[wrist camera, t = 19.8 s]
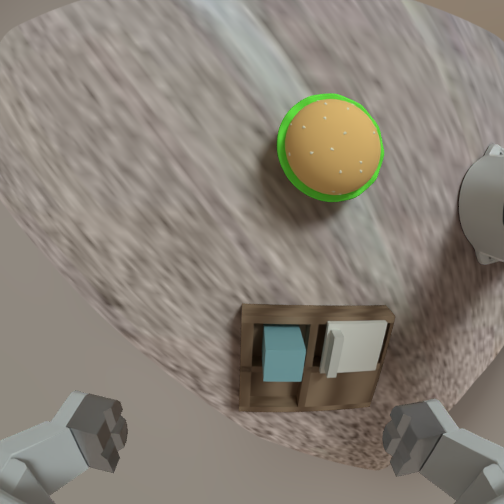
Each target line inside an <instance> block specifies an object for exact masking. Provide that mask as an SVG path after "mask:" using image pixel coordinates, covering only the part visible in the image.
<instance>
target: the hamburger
mask: <svg viewBox="0 0 504 504" xmlns="http://www.w3.org/2000/svg"><path fill="white" fill-rule="evenodd" d="M277 154H278V158H279V162H280V164H281V167H282V169H283V171H284V173H285V175H286V176H287V178H288V179H289V180H290V182H291V183H292V184H293V185H294V186H295V187H296V188H297V189H299V190H300V191H301V192H303V193H304V194H306V195H308V196H310V197H312V198H314V199H317V200H321V201H326V202H339V201H345V200H349V199H352V198H355V197H357V196H359V195H360V194H361V193H363V192H364V191H365V190H366V189H367V188H368V187H369V186H370V185H371V184H373V182H374V181H375V180H376V178H377V176H378V173H379V170H380V167H381V164H382V161H383V157H384V148H383V143H382V138H381V133H380V129H379V126H378V125H377V123H376V122H375V121H374V119H373V118H372V117H371V116H370V114H369V113H368V112H367V111H366V109H365V108H364V107H363V106H362V105H361V104H359V103H357V102H355V101H353V100H351V99H348V98H346V97H344V96H341V95H338V94H319V95H313V96H309V97H307V98H305V99H303V100H301V101H300V102H298V103H297V104H296V105H294V106H293V107H292V108H291V109H290V110H289V111H288V113H287V114H286V115H285V117H284V119H283V121H282V122H281V125H280V127H279V131H278V136H277Z"/></svg>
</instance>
